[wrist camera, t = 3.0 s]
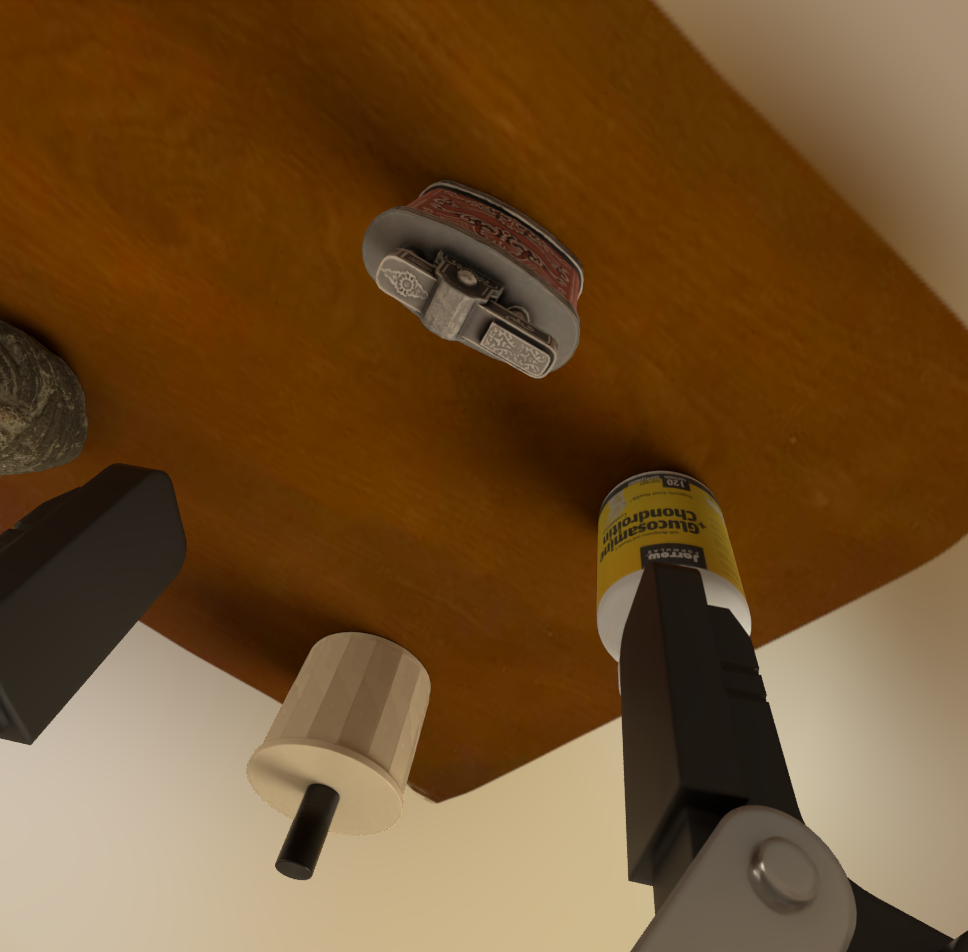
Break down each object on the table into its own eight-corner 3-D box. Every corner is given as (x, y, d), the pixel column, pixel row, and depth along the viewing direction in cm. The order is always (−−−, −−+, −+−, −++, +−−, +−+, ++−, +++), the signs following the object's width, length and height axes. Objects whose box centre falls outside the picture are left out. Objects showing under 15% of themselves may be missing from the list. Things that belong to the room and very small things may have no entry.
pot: (433, 645, 42) (399, 758, 34) (429, 725, 47) (399, 837, 40) (302, 621, 42) (244, 726, 35) (313, 702, 48) (264, 808, 41)
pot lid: (407, 746, 35) (378, 847, 30) (406, 831, 40) (381, 926, 36) (243, 714, 36) (191, 806, 31) (265, 800, 41) (223, 890, 37)
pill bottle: (722, 461, 30) (780, 635, 20) (716, 558, 33) (764, 746, 24) (593, 468, 32) (591, 634, 22) (600, 560, 35) (601, 739, 25)
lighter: (405, 234, 26) (318, 299, 18) (437, 159, 25) (356, 195, 16) (558, 325, 28) (541, 425, 19) (599, 260, 26) (601, 341, 17)
